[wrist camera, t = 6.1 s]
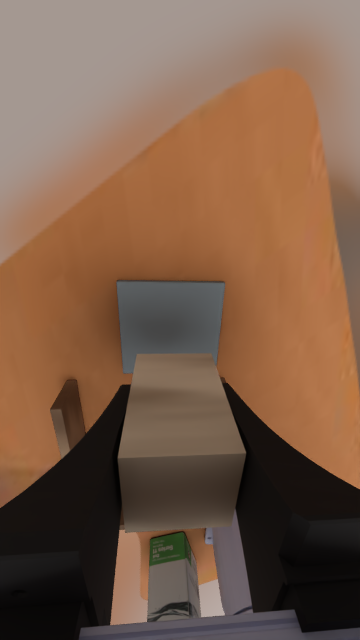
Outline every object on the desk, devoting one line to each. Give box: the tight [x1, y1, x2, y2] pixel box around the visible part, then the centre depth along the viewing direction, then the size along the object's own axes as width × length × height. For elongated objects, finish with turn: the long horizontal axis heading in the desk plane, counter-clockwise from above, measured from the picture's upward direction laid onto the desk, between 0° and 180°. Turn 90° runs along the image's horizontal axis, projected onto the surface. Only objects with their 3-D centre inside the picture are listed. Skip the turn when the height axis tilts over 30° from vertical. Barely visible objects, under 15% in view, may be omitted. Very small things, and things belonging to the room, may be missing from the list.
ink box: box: [147, 532, 201, 622], centre depth 28 cm, size 9×5×12 cm, turn 12°
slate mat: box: [117, 280, 225, 373], centre depth 20 cm, size 8×8×1 cm
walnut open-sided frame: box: [50, 378, 226, 530], centre depth 23 cm, size 16×14×4 cm
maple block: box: [118, 353, 246, 533], centre depth 11 cm, size 4×4×6 cm
